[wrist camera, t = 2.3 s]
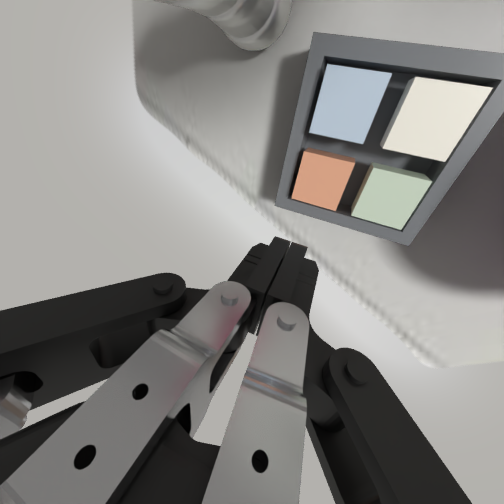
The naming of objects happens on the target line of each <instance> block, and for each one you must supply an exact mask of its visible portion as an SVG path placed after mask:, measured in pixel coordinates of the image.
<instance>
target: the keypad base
mask: <svg viewBox="0 0 504 504" xmlns="http://www.w3.org/2000/svg"><path fill="white" fill-rule="evenodd" d="M327 64H331V65H338V66H345V67H352V68H359V69H366V70H373V71H380V72H387V73H392V75H391V78H390V80H389V82H388V85H387V87H386V90H385V92H384V95H383V97H382V99H381V102H380V104H379V107H378V109H377V112H376V114H375V116H374V119H373V121H372V124H371V126H370V129H369V131H368V133H367V136H366V138H365V141H364V143H363V144H360V143H355V142H350V141H346V140H341V139H337V138H332V137H327V136H323V135H318V134H313V133H309V131H310V127H311V123H312V120H313V116H314V112H315V108H316V105H317V101H318V97H319V93H320V90H321V86H322V82H323V79H324V75H325V71H326V67H327ZM414 77H422V78H429V79H435V80H442V81H449V82H456V83H463V84H470V85H477V86H484V87H491V88H493V89H492V90H491V92H490V93H489V95H488V96H487V98H486V100H485V101H484V103H483V104H482V106H481V107H480V109H479V110H478V112H477V113H476V115H475V117H474V118H473V120H472V121H471V123H470V124H469V126H468V127H467V129H466V130H465V132H464V134H463V135H462V137H461V138H460V140H459V141H458V143H457V144H456V146H455V147H454V149H453V151H452V152H451V154H450V155H449V157H448V158H447V160H446V161H445V162H443V161H439V160H434V159H429V158H425V157H420V156H415V155H411V154H406V153H401V152H397V151H392V150H388V149H383V148H382V147H381V146H380V142H381V140H382V138H383V136H384V134H385V131H386V129H387V127H388V125H389V123H390V120H391V118H392V116H393V114H394V112H395V109H396V107H397V105H398V103H399V101H400V98H401V96H402V94H403V92H404V90H405V87H406V85H407V83H408V81H409V80H410V79H412V78H414ZM503 112H504V53H496V52H487V51H478V50H469V49H460V48H452V47H443V46H434V45H425V44H416V43H407V42H398V41H389V40H380V39H371V38H363V37H354V36H345V35H336V34H327V33H318V32H313V37H312V41H311V45H310V50H309V54H308V59H307V63H306V68H305V72H304V77H303V81H302V85H301V90H300V94H299V99H298V103H297V108H296V112H295V117H294V121H293V126H292V130H291V134H290V139H289V143H288V148H287V152H286V157H285V161H284V166H283V170H282V175H281V179H280V183H279V188H278V192H277V197H276V201H275V206H277V207H280V208H283V209H287V210H290V211H293V212H297V213H300V214H303V215H307V216H310V217H313V218H317V219H320V220H323V221H327V222H330V223H333V224H337V225H340V226H343V227H347V228H350V229H353V230H356V231H360V232H363V233H366V234H370V235H373V236H376V237H380V238H383V239H386V240H390V241H393V242H396V243H400V244H403V245H406V246H409V245H410V244H411V242H412V241H413V239H414V238H415V237H416V235H417V234H418V232H419V231H420V230H421V228H422V227H423V225H424V224H425V222H426V221H427V220H428V218H429V217H430V215H431V214H432V213H433V211H434V210H435V208H436V207H437V205H438V204H439V203H440V201H441V200H442V198H443V197H444V196H445V194H446V193H447V191H448V190H449V189H450V187H451V186H452V184H453V183H454V181H455V180H456V179H457V177H458V176H459V174H460V173H461V172H462V170H463V169H464V167H465V166H466V164H467V163H468V162H469V160H470V159H471V157H472V156H473V155H474V153H475V152H476V150H477V149H478V148H479V146H480V145H481V143H482V142H483V140H484V139H485V138H486V136H487V135H488V133H489V132H490V131H491V129H492V128H493V126H494V125H495V123H496V122H497V121H498V119H499V118H500V116H501V115H502V114H503ZM308 147H309V148H313V149H318V150H322V151H326V152H331V153H335V154H339V155H344V156H348V157H352V158H355V165H354V167H353V170H352V172H351V175H350V177H349V180H348V182H347V184H346V187H345V189H344V192H343V194H342V197H341V199H340V201H339V204H338V206H337V209H336V211H334V210H330V209H327V208H323V207H320V206H316V205H313V204H309V203H306V202H302V201H299V200H296V199H292V194H293V190H294V187H295V183H296V179H297V175H298V172H299V168H300V164H301V161H302V157H303V153H304V151H305V150H306V149H307V148H308ZM371 162H374V163H378V164H383V165H387V166H391V167H396V168H400V169H404V170H409V171H413V172H417V173H422V174H425V175H426V176H427V177H428V178H429V179H430V180H431V181H432V183H431V185H430V186H429V188H428V189H427V191H426V192H425V194H424V195H423V197H422V199H421V200H420V202H419V203H418V205H417V206H416V208H415V209H414V211H413V212H412V214H411V216H410V217H409V219H408V220H407V222H406V223H405V225H404V226H403V228H402V229H401V230H400V229H396V228H393V227H389V226H386V225H382V224H379V223H375V222H372V221H368V220H365V219H361V218H358V217H354V216H351V206H352V204H353V202H354V200H355V198H356V195H357V193H358V191H359V189H360V187H361V184H362V182H363V180H364V178H365V176H366V173H367V171H368V169H369V167H370V165H371Z"/></svg>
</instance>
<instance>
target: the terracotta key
mask: <svg viewBox="0 0 504 504" xmlns="http://www.w3.org/2000/svg"><path fill="white" fill-rule="evenodd" d="M354 165H355V158H352V157H348V156H344V155H339V154H335V153H331V152H326V151H322V150H318V149H313V148H309V147H308V148H307V149H306V150H305V151H304V153H303V157H302V161H301V164H300V168H299V172H298V175H297V179H296V183H295V187H294V190H293V194H292V199H296V200H299V201H302V202H306V203H309V204H313V205H316V206H320V207H323V208H327V209H330V210H334V211H336V209H337V206H338V204H339V201H340V199H341V197H342V194H343V192H344V189H345V187H346V184H347V182H348V180H349V177H350V175H351V172H352V170H353V167H354Z"/></svg>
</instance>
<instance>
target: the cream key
mask: <svg viewBox="0 0 504 504" xmlns="http://www.w3.org/2000/svg"><path fill="white" fill-rule="evenodd" d="M492 89H493V88H491V87H484V86H477V85H470V84H463V83H456V82H449V81H442V80H435V79H429V78H422V77H414V78H412V79H410V80H409V81H408V83H407V85H406V87H405V90H404V92H403V94H402V96H401V98H400V101H399V103H398V105H397V107H396V109H395V112H394V114H393V116H392V118H391V120H390V123H389V125H388V127H387V129H386V131H385V134H384V136H383V138H382V140H381V142H380V146H381V147H382V148H383V149H388V150H392V151H397V152H401V153H406V154H411V155H415V156H420V157H425V158H429V159H434V160H439V161H443V162H445V161H446V160H447V158H448V157H449V155H450V154H451V152H452V151H453V149H454V147H455V146H456V144H457V143H458V141H459V140H460V138H461V137H462V135H463V134H464V132H465V130H466V129H467V127H468V126H469V124H470V123H471V121H472V120H473V118H474V117H475V115H476V113H477V112H478V110H479V109H480V107H481V106H482V104H483V103H484V101H485V100H486V98H487V96H488V95H489V93H490V92H491V90H492Z"/></svg>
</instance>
